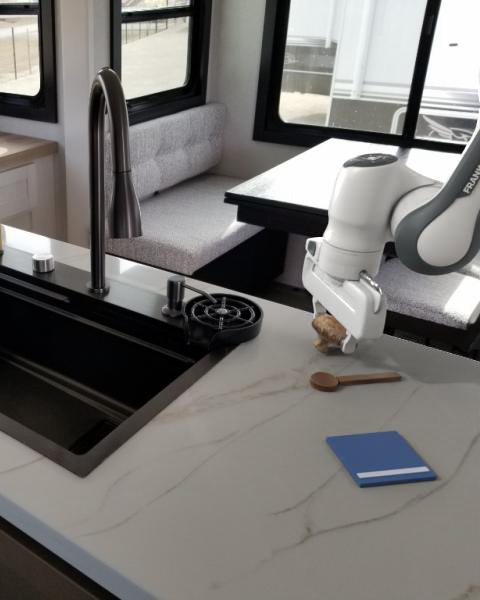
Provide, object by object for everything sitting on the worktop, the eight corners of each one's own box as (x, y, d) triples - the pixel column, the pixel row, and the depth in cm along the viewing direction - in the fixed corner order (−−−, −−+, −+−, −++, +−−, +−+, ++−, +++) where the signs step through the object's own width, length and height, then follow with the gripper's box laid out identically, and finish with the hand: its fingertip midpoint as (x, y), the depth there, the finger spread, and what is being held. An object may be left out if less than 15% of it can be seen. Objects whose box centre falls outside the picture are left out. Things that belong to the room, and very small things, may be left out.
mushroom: (301, 341, 103) (323, 308, 102) (298, 338, 110) (318, 308, 109) (347, 368, 101) (369, 335, 100) (340, 364, 108) (361, 332, 108)
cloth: (395, 433, 87) (396, 429, 86) (436, 479, 79) (437, 475, 79) (325, 440, 86) (326, 436, 85) (359, 487, 78) (360, 483, 77)
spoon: (390, 371, 100) (392, 365, 100) (405, 385, 97) (406, 380, 97) (305, 378, 99) (306, 372, 99) (316, 393, 95) (317, 387, 95)
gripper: (406, 287, 90) (384, 369, 96) (337, 234, 108) (322, 306, 114) (364, 289, 89) (344, 372, 95) (301, 235, 107) (288, 308, 114)
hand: (332, 336), depth 105 cm, fingers closed on mushroom, 8 cm apart
